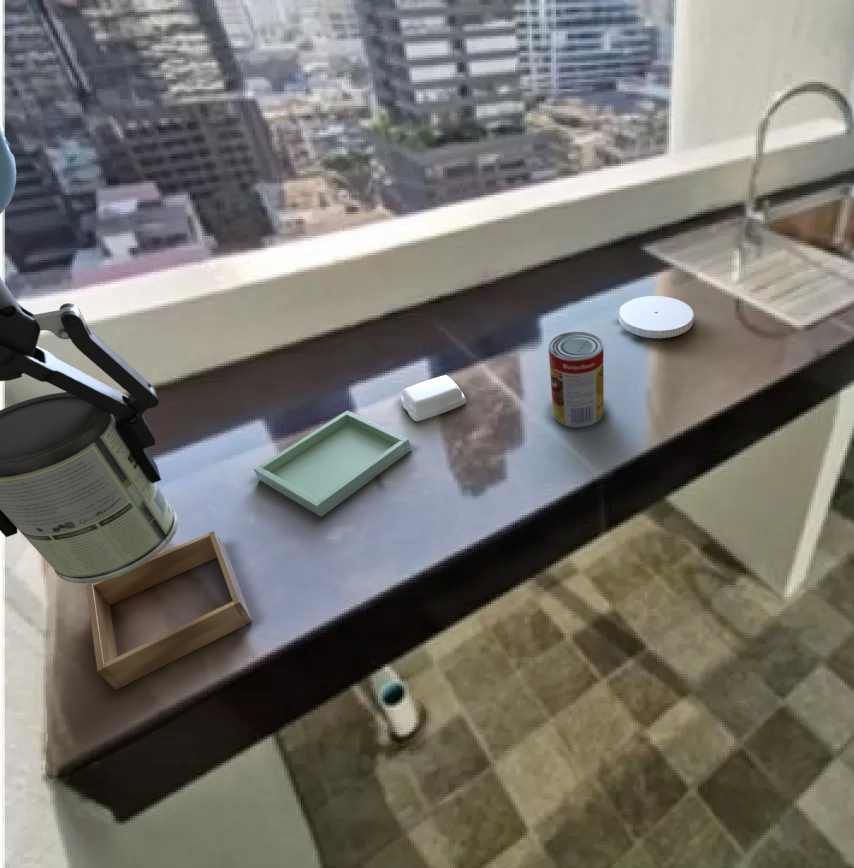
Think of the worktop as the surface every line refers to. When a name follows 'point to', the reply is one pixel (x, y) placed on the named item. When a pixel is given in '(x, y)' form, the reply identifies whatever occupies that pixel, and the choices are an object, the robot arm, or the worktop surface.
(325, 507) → the tray
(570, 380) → the canned food
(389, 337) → the worktop surface
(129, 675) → the can stand
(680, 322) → the plastic lid
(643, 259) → the worktop surface
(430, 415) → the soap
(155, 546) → the coffee can
